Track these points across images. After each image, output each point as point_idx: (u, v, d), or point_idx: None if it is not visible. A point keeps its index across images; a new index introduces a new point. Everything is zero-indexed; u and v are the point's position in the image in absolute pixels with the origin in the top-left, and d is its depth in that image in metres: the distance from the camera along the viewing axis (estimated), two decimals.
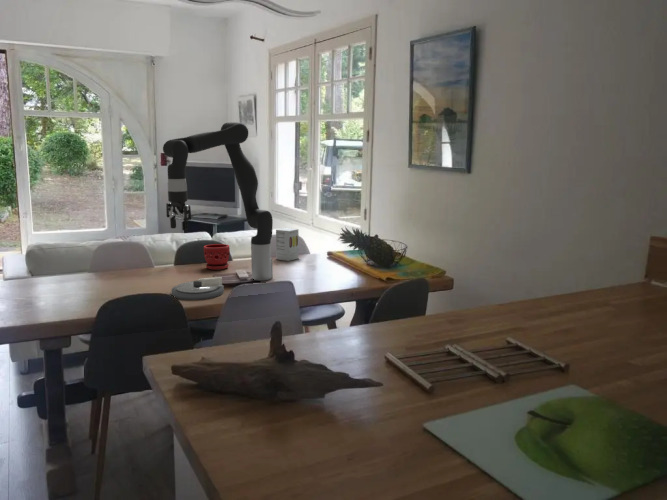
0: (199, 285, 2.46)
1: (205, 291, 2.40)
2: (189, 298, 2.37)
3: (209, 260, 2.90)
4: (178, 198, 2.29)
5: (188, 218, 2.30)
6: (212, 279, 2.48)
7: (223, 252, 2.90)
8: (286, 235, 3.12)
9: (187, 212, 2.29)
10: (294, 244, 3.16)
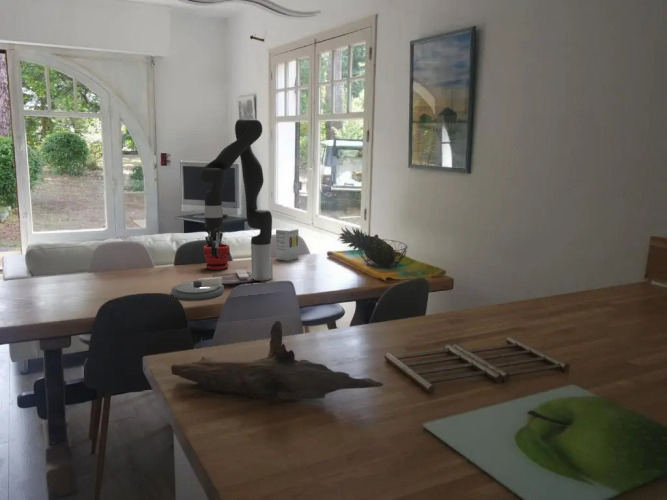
0: (199, 285, 2.46)
1: (205, 291, 2.40)
2: (189, 298, 2.37)
3: (209, 260, 2.90)
4: (206, 224, 2.38)
5: (211, 246, 2.39)
6: (212, 279, 2.48)
7: (223, 252, 2.90)
8: (286, 235, 3.12)
9: (208, 242, 2.37)
10: (294, 244, 3.16)
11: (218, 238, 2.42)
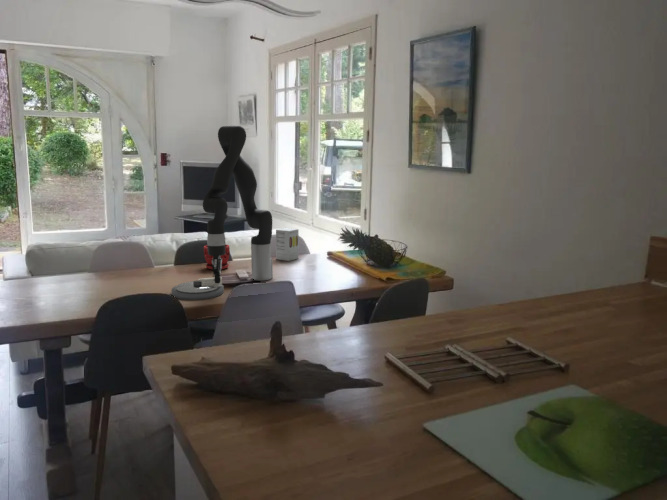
0: (199, 285, 2.46)
1: (205, 291, 2.40)
2: (189, 298, 2.37)
3: (209, 260, 2.90)
4: (211, 252, 2.42)
5: (216, 274, 2.44)
6: (212, 279, 2.48)
7: None
8: (286, 235, 3.12)
9: (214, 270, 2.42)
10: (294, 244, 3.16)
11: (221, 265, 2.47)
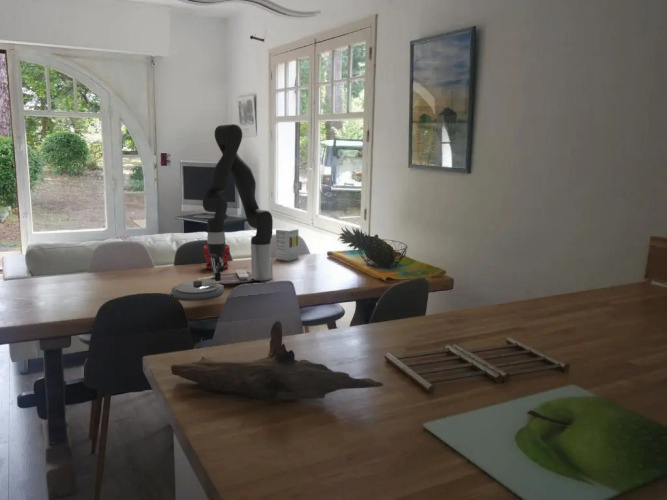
0: (200, 285, 2.47)
1: (212, 290, 2.43)
2: (189, 298, 2.37)
3: (209, 260, 2.90)
4: (215, 250, 2.45)
5: (219, 271, 2.47)
6: (211, 278, 2.51)
7: None
8: (286, 235, 3.12)
9: (220, 267, 2.46)
10: (294, 244, 3.16)
11: None
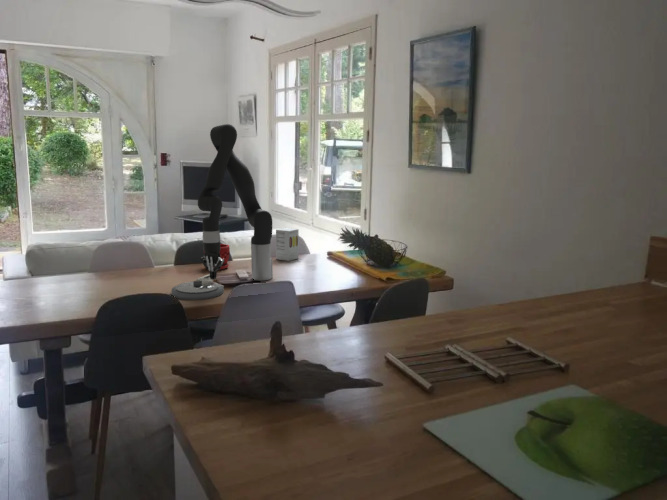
0: (201, 284, 2.47)
1: (217, 287, 2.47)
2: (189, 298, 2.37)
3: None
4: (214, 249, 2.48)
5: (217, 269, 2.51)
6: (207, 277, 2.53)
7: (223, 252, 2.90)
8: (286, 235, 3.12)
9: (219, 265, 2.50)
10: (294, 244, 3.16)
11: None
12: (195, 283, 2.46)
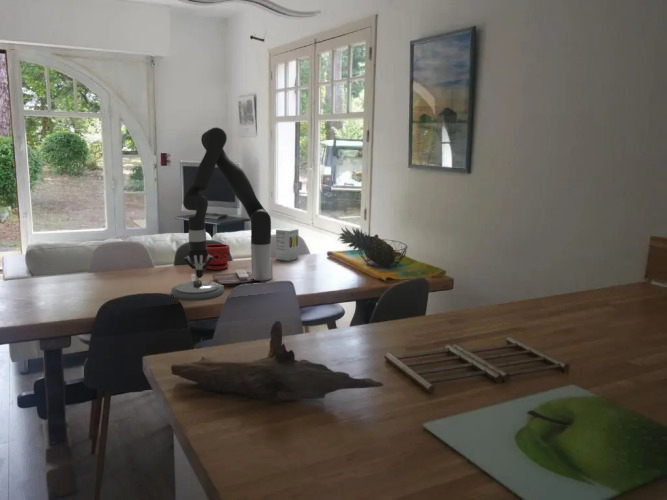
0: None
1: None
2: (189, 298, 2.37)
3: None
4: (205, 247, 2.52)
5: (206, 266, 2.55)
6: None
7: (223, 252, 2.90)
8: (286, 235, 3.12)
9: (209, 262, 2.55)
10: (294, 244, 3.16)
11: None
12: (198, 283, 2.46)
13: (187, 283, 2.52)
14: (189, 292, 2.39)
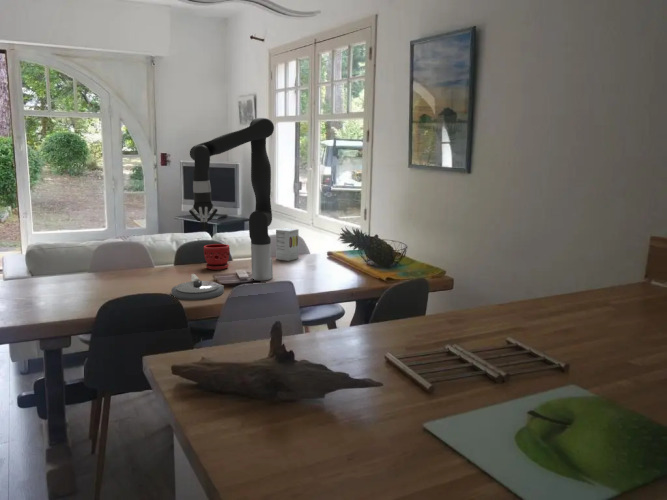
0: None
1: None
2: (189, 298, 2.37)
3: (209, 260, 2.90)
4: (210, 198, 2.51)
5: None
6: None
7: (223, 252, 2.90)
8: (286, 235, 3.12)
9: (214, 214, 2.54)
10: (294, 244, 3.16)
11: None
12: (198, 283, 2.46)
13: (187, 283, 2.52)
14: (189, 292, 2.39)
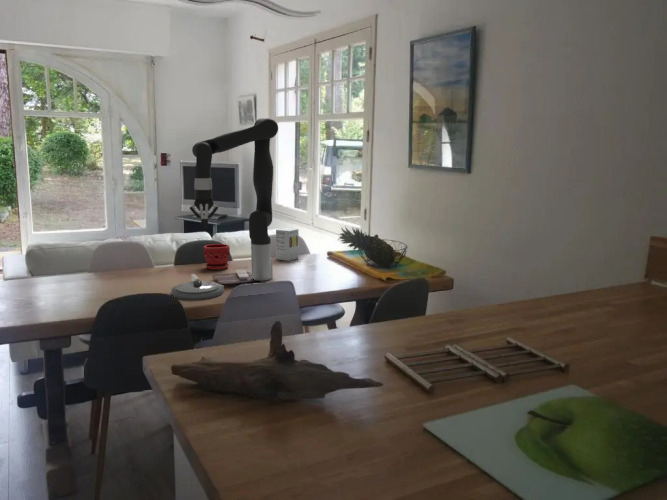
0: None
1: None
2: (189, 298, 2.37)
3: (209, 260, 2.90)
4: (211, 196, 2.51)
5: (211, 216, 2.54)
6: None
7: (223, 252, 2.90)
8: (286, 235, 3.12)
9: (214, 212, 2.54)
10: (294, 244, 3.16)
11: None
12: (198, 283, 2.46)
13: (187, 283, 2.52)
14: (189, 292, 2.39)
